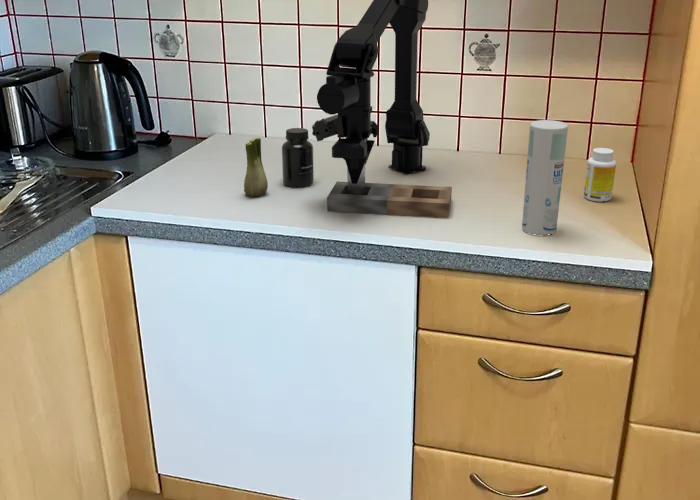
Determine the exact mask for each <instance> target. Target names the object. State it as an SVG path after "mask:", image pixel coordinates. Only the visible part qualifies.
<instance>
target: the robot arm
mask: <svg viewBox="0 0 700 500" xmlns="http://www.w3.org/2000/svg"><path fill="white" fill-rule="evenodd" d="M428 8H429V0H372V2H371V3H370V5H369V6H368V7H367V9H366V11H365V13H364V14H363V16H362V17H361V19H360V20H359V22H358V23H357V24H356V25H355V26H353V27H351V28H349V29H347V30H345V31H344V32H343V33H342V34H341V35H340V37H338V38H337V40H336V43H334V45H333V49H332V53H331V56H330V60H329V63H328V66H327V69H326V77H325V81H326V82H325V83H324V84H323V85H321V86H320V87H319V89H318V92H317V93H316V102H317V104H318V106H319V108H320V109H321V110H322V111H323V112H324V113H325V114H327V115H332V116H329V117H325V118H321V119H320V120H316V121H315V122H314V123H313V124H312V126H311V129H312V136H314V137H315V139H316V140H317V142H322V141H323V140H325V139H328V138H330V137H331V138H332V137H333V136H336V137H337V138H338V139H337V141H336V142H335V143H334V144H333V145H332V147H331V158H334V159H343V160H344V161H345V165H346V167H347V168H348V171H349V175H350V178H351V182H352V183H353V184H357V183H358V180H359V178H360V175H361V172H362V170H363V167H364V164H365V166H366V164H367V162H368V159H369V157H370V154H371V152H372V149H373V147H374V145H375V140H374V139H372V140H371V139H369V138H370V136H371V135H372V136H373V138H377V137H378V135H379V125H378V124H377V122H375V121H374V120H372V119H371V114H372V113H373V106H372V105H371V102H372V101H371V99H372V98H371V89H372V88H371V78H372V77H374V76H375V73H374V71H373V68H374V65H375V63H376V61H377V59H378V55H379V53H380V51H379V46H378V43H379V40H380V38H381V37H382V35H383V34H384V32H385V31H386V29H387V28H388V26H389V25H390V27H391V29H392V30H393V32H394V35H395V38H394V39H395V42H394V43H395V44H394V45H395V46H394V47H395V48H394V101H393V103H392V104H391V106H390V108H389V109H387V110H386V112H385V117H386V118H385V125H384V128H385V135H386V141H387V144H392V147H393V148H392V149H393V150H391V164H389V165H388V168H389V169H391V170H394V171H397V172H399V173H401V174H405V175H406V174H407V175H408V174H413V173H415V172H420V171H424V170H427V166H425V165H423V149H424V148H423V147H427V146H429V141H430V135H431V133H430V131H429V128H428V127H427V124H426V123H425V120H424V110H423V108H422V107H421V105H420V103H419V102H418V100H417V86H418V85H417V83H418V82H417V78H418V76H417V75H418V68H417V67H418V42H419V41H418V33H419V31H420V29H421V28H422V26H423V24H424V23H425V21H426V18H427V11H428Z"/></svg>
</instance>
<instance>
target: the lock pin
mask: <svg viewBox="0 0 700 500" xmlns="http://www.w3.org/2000/svg"><path fill="white" fill-rule="evenodd" d="M346 171H347V172H346V173H347V174H346V175H347V177H346V179H347V181H346V182H348V194H352V195H365V183H366V165H365V164H364V167H363V170H362V172H361V175H360V178H359V180H358V183H357V184H353V183H352V182H351V178H350V175H349V171H348V168H347V170H346Z"/></svg>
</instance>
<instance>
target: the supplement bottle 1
mask: <svg viewBox="0 0 700 500" xmlns="http://www.w3.org/2000/svg"><path fill="white" fill-rule="evenodd" d="M309 137H310V136H309V129H307V128H304V127H303V128H302V127H294V128H293V127H292V128H288V129H286V130H285V140H286V141H285V142H284V143H283V144H282V146H281V159H282V160H281V163H282V165H281V167H282V183H283V184H284V185H285V186H287V187H290V188H296V189H298V188H306V187H310V186H312V185H313V183H314V180H315V179H314V175H315V174H314V146H313V144H312V142H310V141H308V140H309Z"/></svg>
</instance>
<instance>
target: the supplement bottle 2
mask: <svg viewBox="0 0 700 500" xmlns="http://www.w3.org/2000/svg"><path fill="white" fill-rule="evenodd" d="M586 163H587V165H586V173H585V182H584V191H583V196H584V198H585V199H586V200H588V201H591V202H600V203H603V201H604V202H608V201H610V200H611V199H612V196H613V190H614V183H615V177H616V176H615V173H616V168H617V161H616V160H615V159H614V150H613V149H611V148H606V147H595V148H593V150H592V156H591V157H589V158H588V159H587V162H586Z"/></svg>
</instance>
